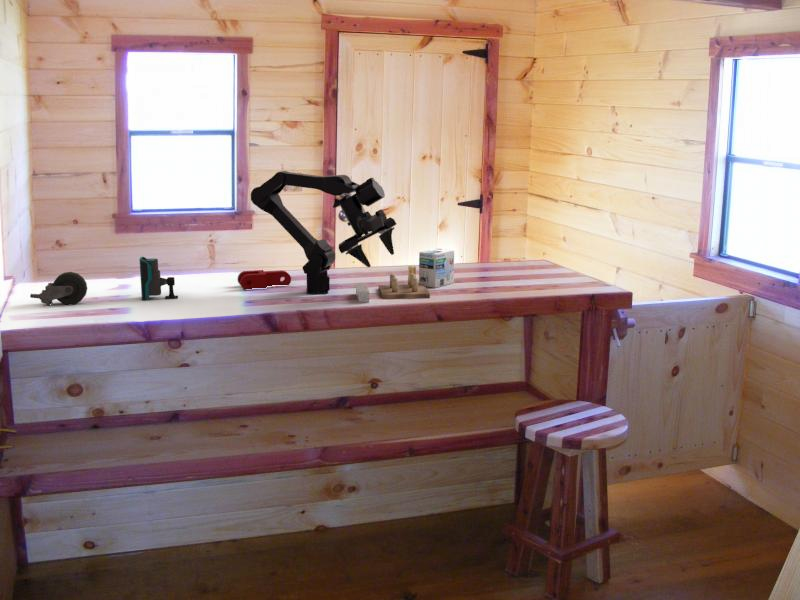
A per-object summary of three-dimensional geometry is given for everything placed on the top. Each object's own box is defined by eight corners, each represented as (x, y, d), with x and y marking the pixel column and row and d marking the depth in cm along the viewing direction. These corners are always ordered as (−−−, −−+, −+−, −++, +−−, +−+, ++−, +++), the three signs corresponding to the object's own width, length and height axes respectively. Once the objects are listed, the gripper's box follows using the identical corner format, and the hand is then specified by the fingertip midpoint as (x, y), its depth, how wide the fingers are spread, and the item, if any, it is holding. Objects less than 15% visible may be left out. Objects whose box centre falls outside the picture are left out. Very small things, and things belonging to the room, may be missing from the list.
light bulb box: (435, 288, 283) (435, 254, 281) (417, 285, 287) (418, 252, 285) (454, 283, 291) (455, 250, 289) (437, 280, 295) (437, 247, 293)
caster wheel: (87, 304, 262) (32, 301, 259) (88, 271, 260) (33, 268, 257) (84, 309, 256) (28, 305, 253) (85, 275, 254) (29, 271, 251)
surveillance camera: (175, 258, 262) (139, 259, 260) (177, 299, 264) (141, 300, 263) (176, 255, 267) (141, 256, 265) (178, 295, 270) (143, 296, 268)
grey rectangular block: (369, 303, 262) (369, 291, 262) (358, 303, 262) (358, 291, 261) (365, 294, 274) (365, 283, 273) (355, 295, 274) (355, 283, 273)
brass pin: (408, 286, 286) (408, 267, 285) (407, 284, 288) (407, 266, 287) (416, 286, 286) (416, 267, 285) (415, 284, 289) (415, 265, 287)
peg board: (382, 298, 268) (382, 281, 266) (378, 288, 281) (378, 272, 280) (429, 297, 269) (430, 280, 268) (423, 288, 283) (423, 271, 282)
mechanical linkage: (241, 291, 277) (240, 275, 276) (237, 287, 284) (237, 271, 283) (292, 288, 282) (292, 272, 281) (288, 284, 289) (287, 268, 288)
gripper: (343, 217, 255) (369, 266, 256) (392, 193, 265) (417, 240, 266) (326, 229, 265) (352, 276, 265) (374, 205, 275) (399, 251, 275)
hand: (381, 260), depth 268 cm, fingers open, 9 cm apart
